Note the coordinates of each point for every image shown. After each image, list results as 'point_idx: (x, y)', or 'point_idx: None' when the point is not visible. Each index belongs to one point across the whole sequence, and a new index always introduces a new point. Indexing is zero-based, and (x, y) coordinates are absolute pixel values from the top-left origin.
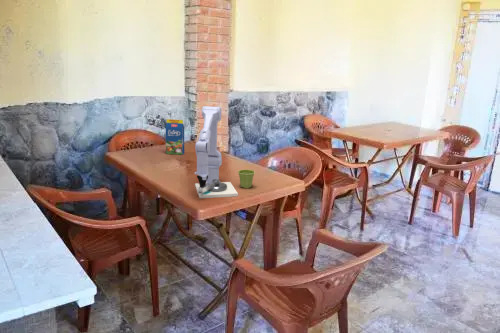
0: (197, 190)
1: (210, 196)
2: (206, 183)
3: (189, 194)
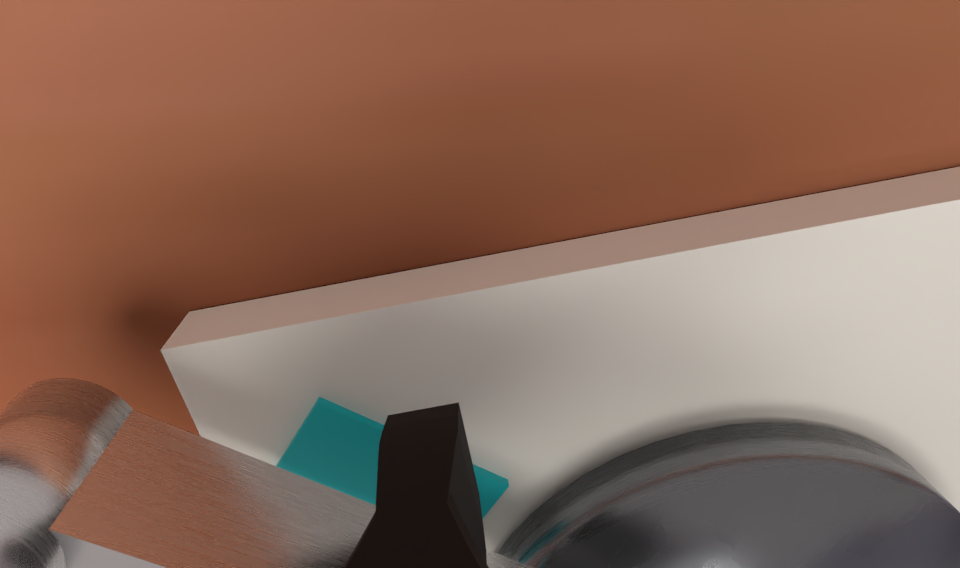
0: (629, 255)
1: None
2: (938, 501)
3: (475, 15)
